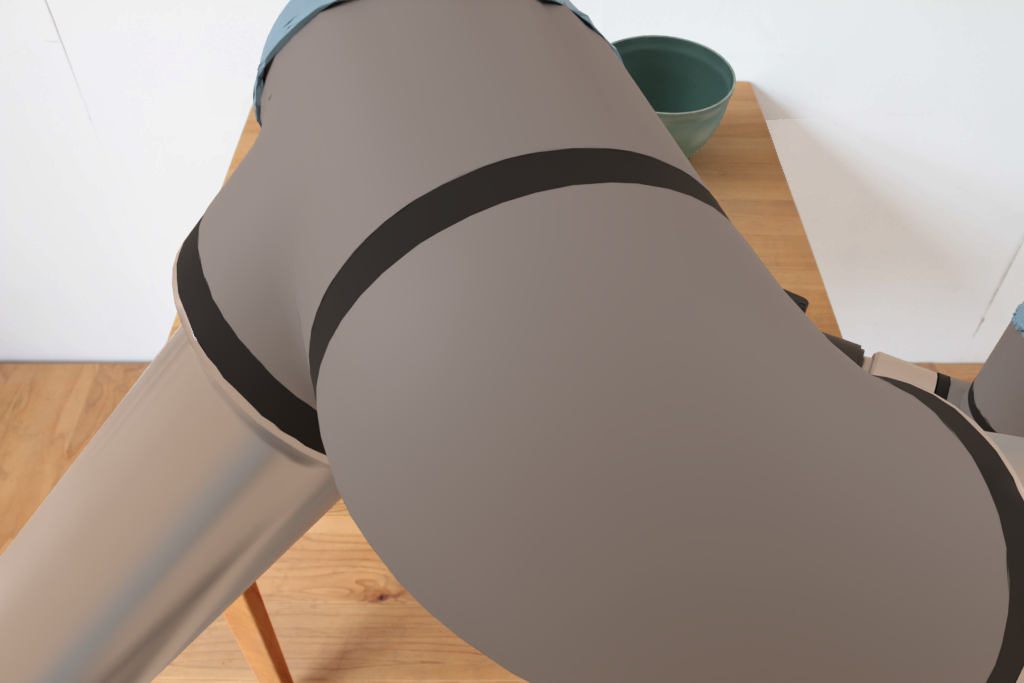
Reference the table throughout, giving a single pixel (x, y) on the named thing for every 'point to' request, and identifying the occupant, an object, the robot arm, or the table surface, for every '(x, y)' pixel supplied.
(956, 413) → the robot arm
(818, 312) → the table surface
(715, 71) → the flower pot
